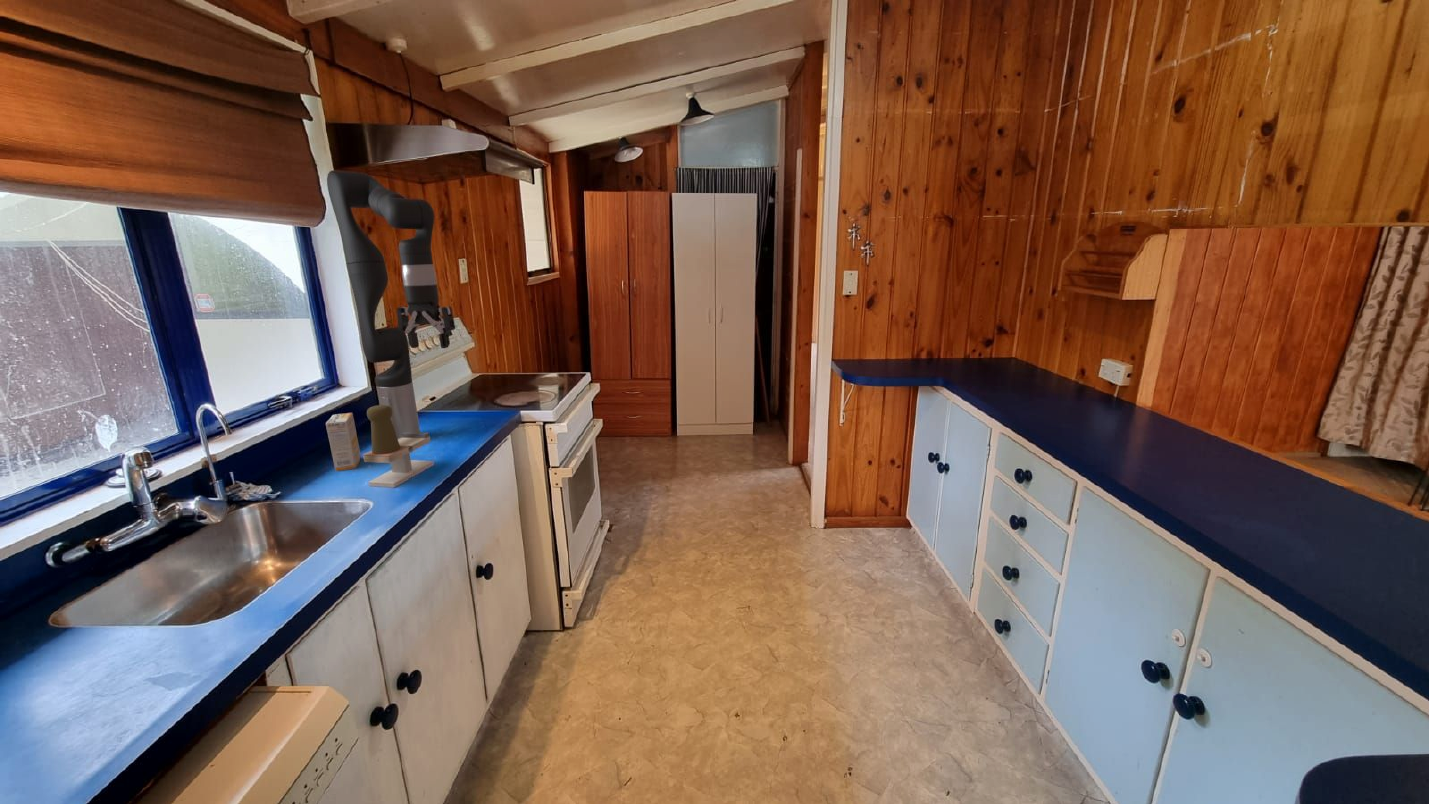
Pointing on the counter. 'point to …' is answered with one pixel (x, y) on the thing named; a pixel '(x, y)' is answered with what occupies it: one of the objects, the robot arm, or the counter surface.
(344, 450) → the supplement box
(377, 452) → the cork
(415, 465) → the seesaw stand
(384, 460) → the seesaw
